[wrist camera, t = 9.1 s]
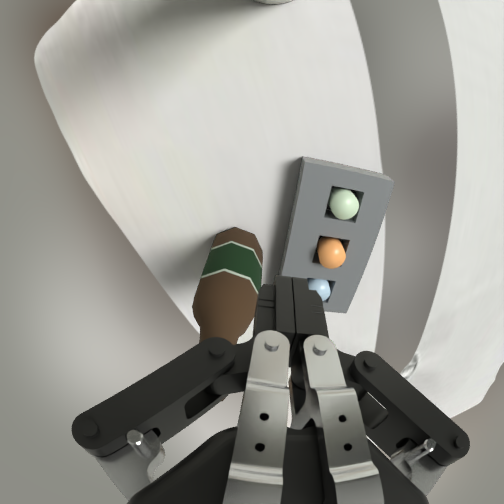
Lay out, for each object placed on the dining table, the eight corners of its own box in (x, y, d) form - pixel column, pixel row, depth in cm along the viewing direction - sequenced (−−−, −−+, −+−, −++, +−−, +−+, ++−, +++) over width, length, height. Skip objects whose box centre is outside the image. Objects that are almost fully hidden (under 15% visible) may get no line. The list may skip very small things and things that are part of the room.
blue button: (307, 270, 42) (309, 282, 40) (330, 273, 42) (333, 285, 40) (302, 288, 44) (304, 301, 41) (324, 291, 44) (326, 303, 42)
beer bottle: (263, 270, 43) (254, 416, 23) (213, 269, 44) (175, 408, 24) (263, 225, 39) (252, 374, 19) (208, 225, 40) (152, 365, 19)
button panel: (302, 156, 34) (305, 161, 31) (386, 175, 34) (394, 181, 31) (274, 293, 46) (274, 305, 43) (342, 301, 46) (346, 313, 43)
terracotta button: (319, 232, 38) (323, 244, 35) (344, 236, 38) (349, 247, 35) (313, 254, 40) (316, 266, 37) (337, 258, 40) (341, 270, 37)
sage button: (330, 182, 35) (335, 190, 32) (355, 188, 35) (362, 196, 32) (324, 207, 37) (328, 217, 34) (349, 212, 37) (354, 221, 34)
